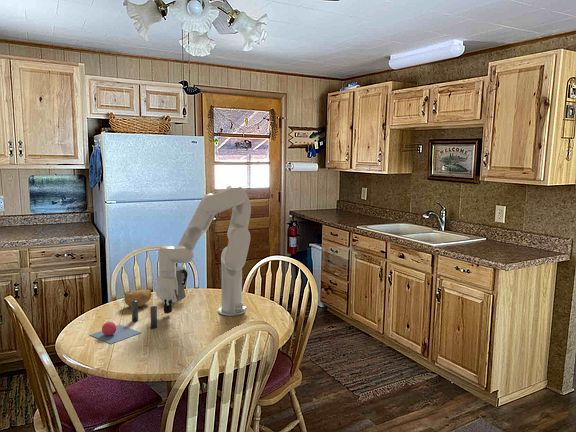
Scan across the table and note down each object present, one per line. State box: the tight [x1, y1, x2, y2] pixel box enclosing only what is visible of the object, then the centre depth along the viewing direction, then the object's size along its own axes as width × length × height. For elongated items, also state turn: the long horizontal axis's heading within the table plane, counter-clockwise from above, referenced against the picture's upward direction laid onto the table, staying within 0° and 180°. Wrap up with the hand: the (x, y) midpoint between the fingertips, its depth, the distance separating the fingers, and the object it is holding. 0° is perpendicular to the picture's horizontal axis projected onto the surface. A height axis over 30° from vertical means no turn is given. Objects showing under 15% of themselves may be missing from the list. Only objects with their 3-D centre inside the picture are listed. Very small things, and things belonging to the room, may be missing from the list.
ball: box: [101, 321, 117, 336], centre depth 179 cm, size 6×6×6 cm
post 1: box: [131, 300, 139, 323], centre depth 195 cm, size 3×3×9 cm
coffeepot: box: [176, 263, 188, 300], centre depth 228 cm, size 15×9×18 cm, turn 51°
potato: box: [123, 288, 152, 308], centre depth 214 cm, size 10×14×8 cm
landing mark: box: [89, 324, 142, 345], centre depth 180 cm, size 14×14×1 cm
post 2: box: [149, 305, 158, 330], centre depth 188 cm, size 3×3×9 cm
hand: (167, 312), depth 202 cm, fingers closed
